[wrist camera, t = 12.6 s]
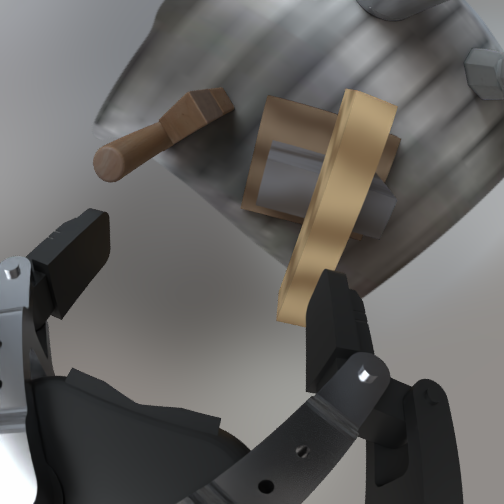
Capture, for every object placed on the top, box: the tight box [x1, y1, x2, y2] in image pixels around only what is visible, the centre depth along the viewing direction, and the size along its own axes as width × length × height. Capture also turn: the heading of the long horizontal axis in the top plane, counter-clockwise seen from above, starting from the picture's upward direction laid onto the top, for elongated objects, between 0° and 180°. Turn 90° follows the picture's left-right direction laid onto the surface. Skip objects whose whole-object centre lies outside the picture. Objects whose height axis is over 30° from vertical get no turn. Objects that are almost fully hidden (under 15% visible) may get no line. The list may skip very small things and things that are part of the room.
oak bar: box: [277, 89, 398, 327], centre depth 28 cm, size 24×4×5 cm, turn 167°
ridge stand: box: [241, 95, 401, 241], centre depth 35 cm, size 16×18×12 cm
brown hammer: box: [93, 88, 234, 182], centre depth 31 cm, size 4×11×18 cm, turn 118°
